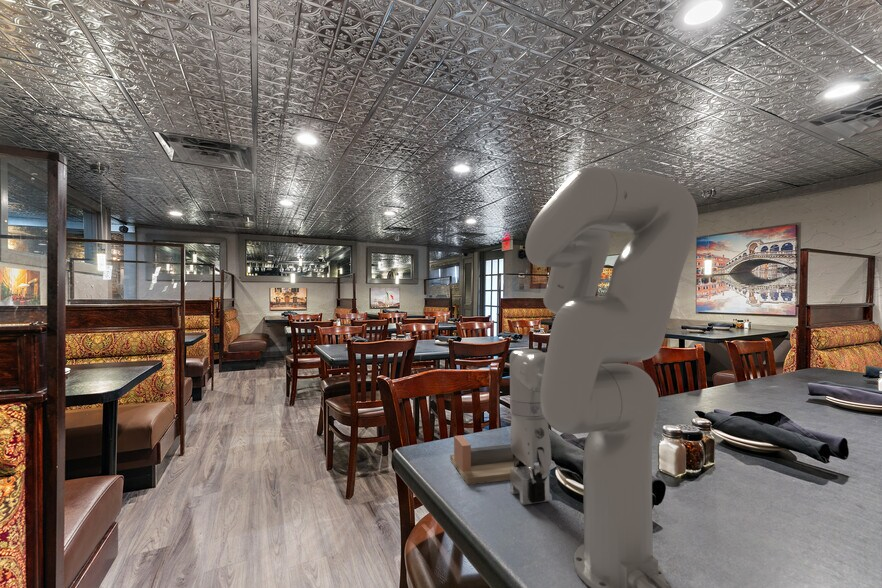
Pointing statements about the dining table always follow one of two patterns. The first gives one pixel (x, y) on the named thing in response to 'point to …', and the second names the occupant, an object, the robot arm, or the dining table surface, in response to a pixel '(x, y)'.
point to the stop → (462, 453)
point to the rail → (491, 455)
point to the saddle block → (525, 483)
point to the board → (485, 472)
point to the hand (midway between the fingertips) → (529, 492)
